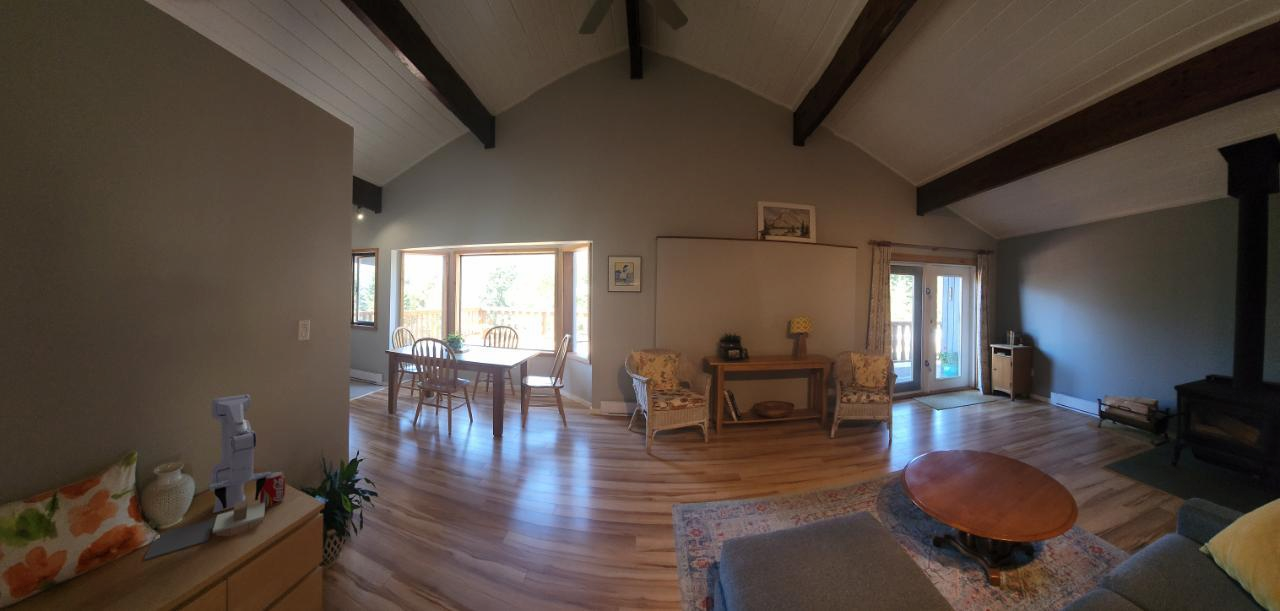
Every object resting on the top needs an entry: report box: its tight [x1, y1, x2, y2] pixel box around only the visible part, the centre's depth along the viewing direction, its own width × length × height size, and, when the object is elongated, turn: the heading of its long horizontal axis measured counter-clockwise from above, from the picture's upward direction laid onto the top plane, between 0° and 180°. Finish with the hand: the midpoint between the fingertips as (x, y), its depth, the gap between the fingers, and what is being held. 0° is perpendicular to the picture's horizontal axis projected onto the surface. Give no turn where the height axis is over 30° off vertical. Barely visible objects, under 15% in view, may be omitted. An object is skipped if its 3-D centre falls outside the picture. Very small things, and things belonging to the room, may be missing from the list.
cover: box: [212, 499, 266, 534], centre depth 128 cm, size 12×12×5 cm
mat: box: [143, 518, 216, 562], centre depth 120 cm, size 16×13×1 cm
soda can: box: [259, 470, 286, 508], centre depth 142 cm, size 7×7×12 cm
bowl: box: [215, 519, 263, 537], centre depth 128 cm, size 11×11×3 cm
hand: (241, 503), depth 128 cm, fingers open, 7 cm apart
